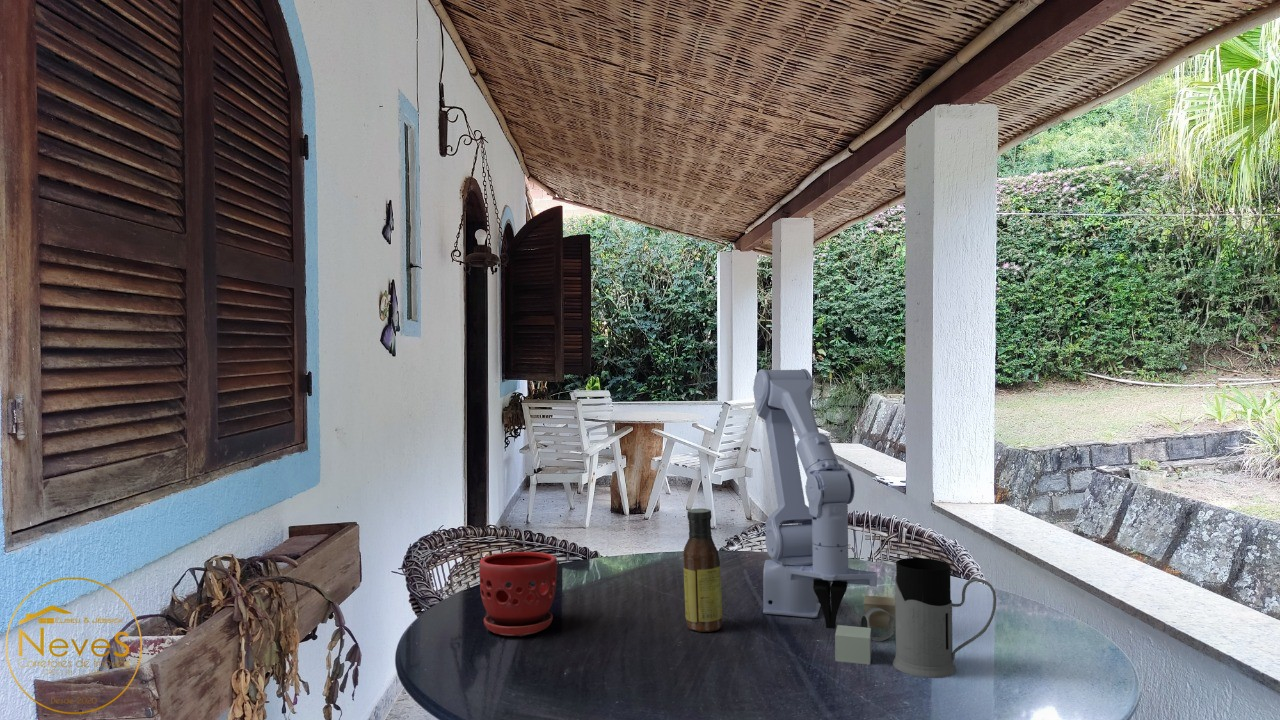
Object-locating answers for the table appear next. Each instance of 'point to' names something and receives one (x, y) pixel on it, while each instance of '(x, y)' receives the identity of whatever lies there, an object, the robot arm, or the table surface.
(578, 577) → the table surface
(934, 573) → the glass holder
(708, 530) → the sauce bottle
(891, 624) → the wristwatch
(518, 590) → the plant pot
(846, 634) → the sage block
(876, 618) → the birch block
